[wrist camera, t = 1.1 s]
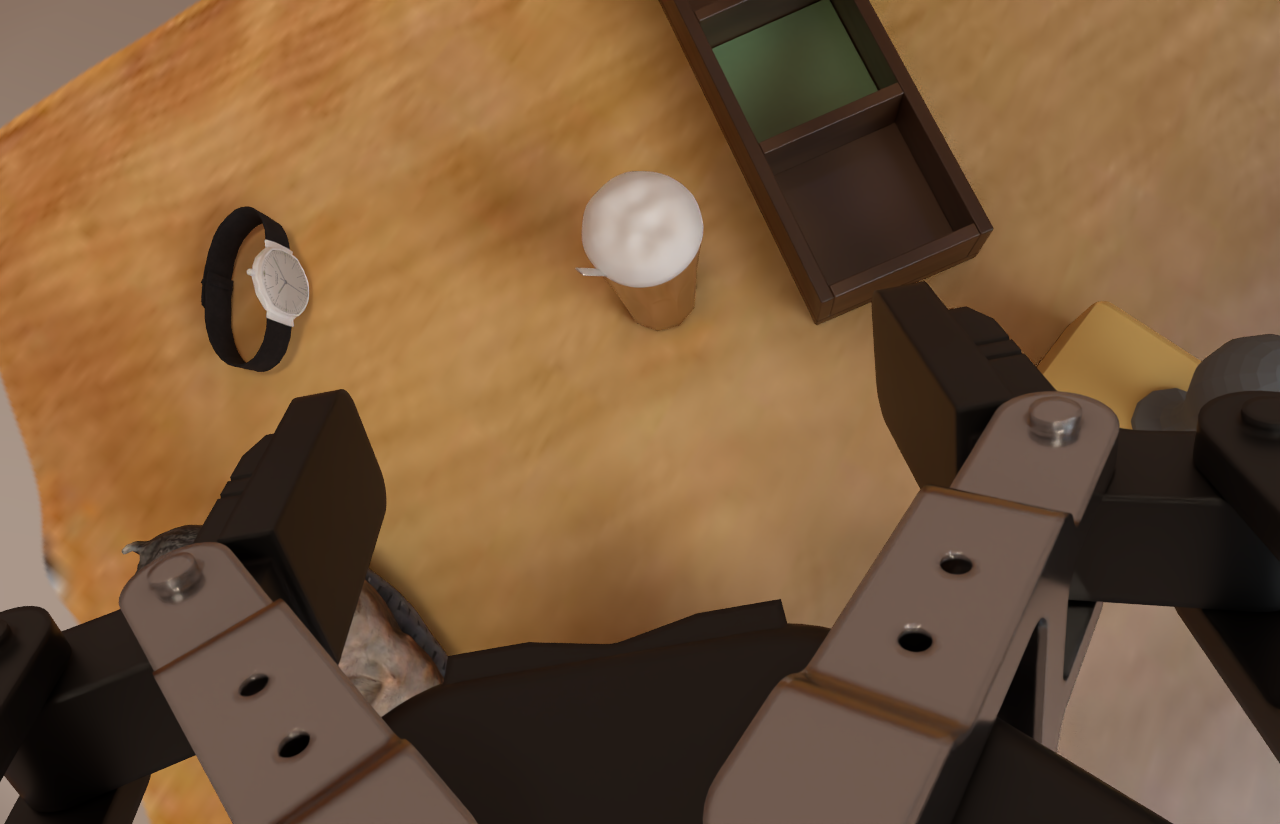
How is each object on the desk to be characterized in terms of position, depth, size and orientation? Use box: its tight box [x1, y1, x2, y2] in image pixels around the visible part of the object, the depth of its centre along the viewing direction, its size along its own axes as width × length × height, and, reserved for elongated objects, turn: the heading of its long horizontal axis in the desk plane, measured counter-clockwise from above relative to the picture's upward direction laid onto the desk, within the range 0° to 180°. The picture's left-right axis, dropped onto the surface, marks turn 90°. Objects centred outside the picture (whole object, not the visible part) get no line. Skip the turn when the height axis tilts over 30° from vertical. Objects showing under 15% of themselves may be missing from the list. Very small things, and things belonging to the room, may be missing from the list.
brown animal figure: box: [122, 525, 448, 717], centre depth 37 cm, size 12×7×10 cm, turn 50°
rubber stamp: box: [1037, 301, 1280, 431], centre depth 34 cm, size 10×6×12 cm, turn 52°
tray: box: [659, 0, 993, 325], centre depth 43 cm, size 8×22×3 cm, turn 23°
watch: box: [201, 207, 309, 372], centre depth 44 cm, size 8×5×4 cm, turn 6°
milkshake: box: [575, 171, 703, 331], centre depth 38 cm, size 4×5×10 cm
